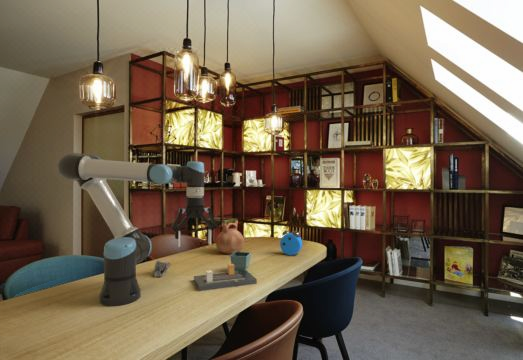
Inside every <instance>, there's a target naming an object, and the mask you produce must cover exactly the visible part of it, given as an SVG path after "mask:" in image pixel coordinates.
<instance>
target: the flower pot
mask: <svg viewBox="0 0 523 360" xmlns="http://www.w3.org/2000/svg"><path fill="white" fill-rule="evenodd" d="M251 254H252V253H251V252H249V251H248V252H246V251H240V252H234V253H233V254H232V255H230V257H229V258H230V264H234V265H235V267H234V271H244V270H247V271H248V268H249V265H250V261H251Z"/></svg>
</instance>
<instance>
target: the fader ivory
mask: <svg viewBox="0 0 523 360" xmlns="http://www.w3.org/2000/svg"><path fill="white" fill-rule="evenodd" d="M213 274H214V272H213V271H212V270H210V269H208V270H205V275H206V282H213Z"/></svg>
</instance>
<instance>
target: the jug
mask: <svg viewBox="0 0 523 360" xmlns="http://www.w3.org/2000/svg"><path fill="white" fill-rule="evenodd" d="M238 223H239V221H238V220H235V221H234V222H228V223H227V222H223V223H222V224H221V227H222V230H221V232H219V233H218V234H217V236H216V238H215V247H216V248H217V250H218V251H219V252H220V254H223V255H228V256H229V255H232V254H233V253H234V252H241V250H242V249H243V248H244V247H243V246H244V244H245V239H244V238H245V237H244V236H243V234H242V233H241V232H240V231H239V230H238ZM231 226H232V228H230V227H231Z"/></svg>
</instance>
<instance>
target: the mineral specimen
mask: <svg viewBox="0 0 523 360" xmlns="http://www.w3.org/2000/svg"><path fill="white" fill-rule="evenodd" d="M155 262H156V263H155V264H154V269H153V270H152V271H151V272H152V273H151V274H152V276H154V278H161V277H163V276H164V275H165V273H166V272H167V271H168V269H170V267H171V265H172V263H171V262H169V261H168V262H167V261H161V260H156V261H155Z"/></svg>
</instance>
